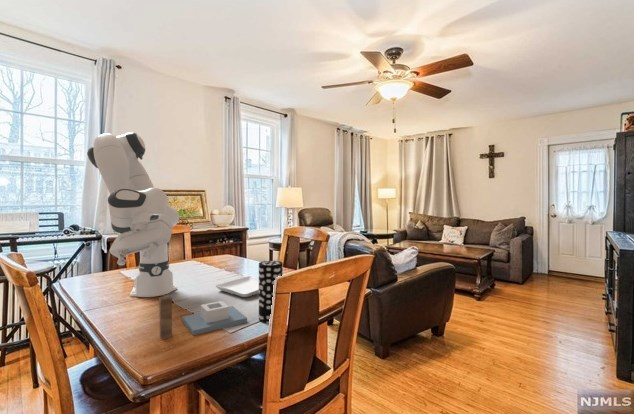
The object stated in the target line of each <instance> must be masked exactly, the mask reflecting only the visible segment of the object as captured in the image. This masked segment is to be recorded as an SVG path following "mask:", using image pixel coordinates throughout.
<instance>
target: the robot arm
mask: <svg viewBox="0 0 634 414" xmlns="http://www.w3.org/2000/svg"><path fill="white" fill-rule="evenodd" d="M145 152H146V145H145V142H144V140H143V138H142V137H141V136H139V135H138V134H137V133H135V132H131V131H130V132H126V133H125V134H121V135H117V136H116V135H114V134H112V133H102V134H99V135H97V136H96V137H95V138H94V141H93V145H92V146H91V147H89V148H88V149H87V157H88V161H89V162H90V163H91V164H92V166H94V167H95V168H96V169H98V171H99V173H100V176H101V177H102V179H103V181H104V184H105V186H106V188H107V189H108V193H109V196H108V197H107V204H108V209H109V216H110V225H111V229H112V230H113V231H114V232H115V233H118V235H117V237H115V239H114V241H113V242H112V244H111V246H110V248H109V253H110V254H111V255H112V256H114V257H116V258H117V262H116V263H117V265H119V266H124V265H126V263H127V259H125V258H126V257H127V256H129V255H132V254H137V253H139V263H138V271H139V272H138V274H136V276H135V277H134V278H133V281H132V283H133V284H134V286H133V287H132V290H131V291H130V294H129V296H130V297H140V298H154V297H159V296H160V297H161V296H165V295H167V294H169V293H171V292H173V291H176V290H178V287H177V286H176V285H174V275H173V274H174V273H173V271H171V270H170V269H169V268H170V261H169V253H168V252H169V248H168V246H169V245H168V243H169V242H170V241H171V237H172V232H173V228H174V227H175V226H177V224H178V223H179V221H180V215H179V214H180V213H179V211H178V210H177V209H176V208H175V207H172V206H171V205H170V204H169V199H168V196H167V194H166V193H165V192H164V191H163V190H162V189H160V188H158V187H155V186H154V184H153V182H152V179H151V178H150V176H149V173H148V172H147V170H146V168H145V166H143V164H142V163H141V162H140V160H143V156H144V155H145ZM139 159H140V160H139Z"/></svg>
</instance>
